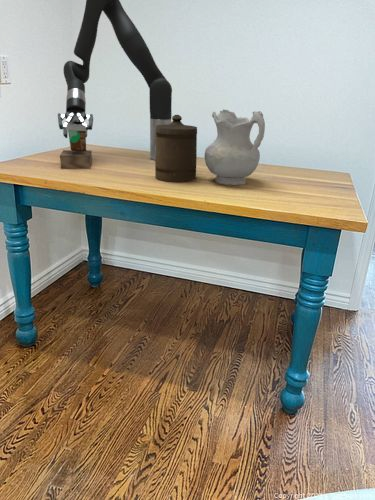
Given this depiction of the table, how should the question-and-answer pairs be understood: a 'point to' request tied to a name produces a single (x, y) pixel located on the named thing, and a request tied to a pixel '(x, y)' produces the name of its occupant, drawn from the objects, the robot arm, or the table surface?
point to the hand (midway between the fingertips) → (75, 136)
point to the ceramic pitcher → (234, 148)
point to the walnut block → (76, 159)
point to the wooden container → (176, 151)
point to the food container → (77, 136)
